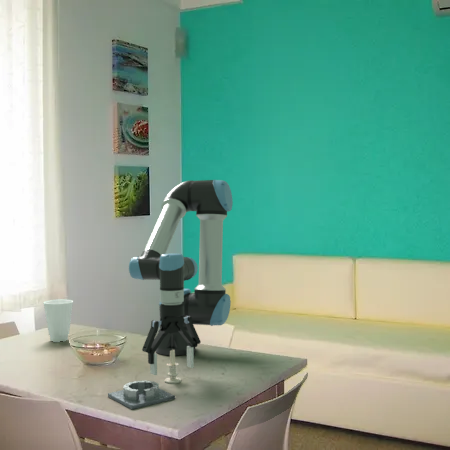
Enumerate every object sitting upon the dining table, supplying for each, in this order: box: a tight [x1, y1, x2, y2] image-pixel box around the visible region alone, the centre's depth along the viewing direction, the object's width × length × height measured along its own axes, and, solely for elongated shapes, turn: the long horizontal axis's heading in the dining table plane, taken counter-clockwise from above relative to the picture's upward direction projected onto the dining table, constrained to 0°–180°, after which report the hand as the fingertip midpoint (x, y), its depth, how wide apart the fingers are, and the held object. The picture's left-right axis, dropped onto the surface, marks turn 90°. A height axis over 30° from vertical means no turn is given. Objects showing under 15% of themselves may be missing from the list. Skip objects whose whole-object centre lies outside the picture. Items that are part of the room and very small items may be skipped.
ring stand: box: [107, 380, 176, 410], centre depth 173 cm, size 14×14×4 cm
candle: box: [164, 348, 182, 385], centre depth 189 cm, size 5×5×10 cm
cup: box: [43, 299, 74, 343], centre depth 247 cm, size 12×12×16 cm
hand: (172, 370), depth 189 cm, fingers open, 13 cm apart
